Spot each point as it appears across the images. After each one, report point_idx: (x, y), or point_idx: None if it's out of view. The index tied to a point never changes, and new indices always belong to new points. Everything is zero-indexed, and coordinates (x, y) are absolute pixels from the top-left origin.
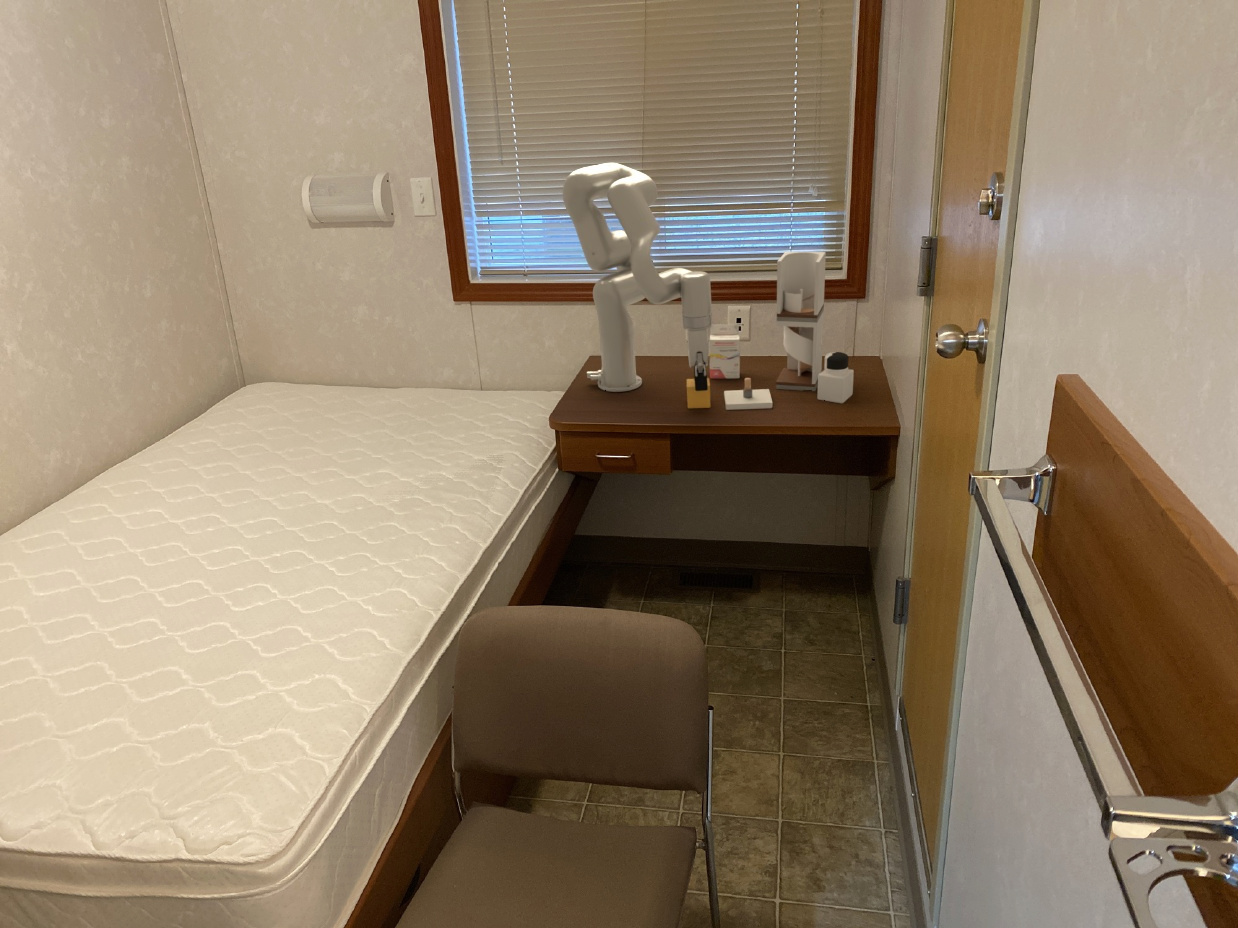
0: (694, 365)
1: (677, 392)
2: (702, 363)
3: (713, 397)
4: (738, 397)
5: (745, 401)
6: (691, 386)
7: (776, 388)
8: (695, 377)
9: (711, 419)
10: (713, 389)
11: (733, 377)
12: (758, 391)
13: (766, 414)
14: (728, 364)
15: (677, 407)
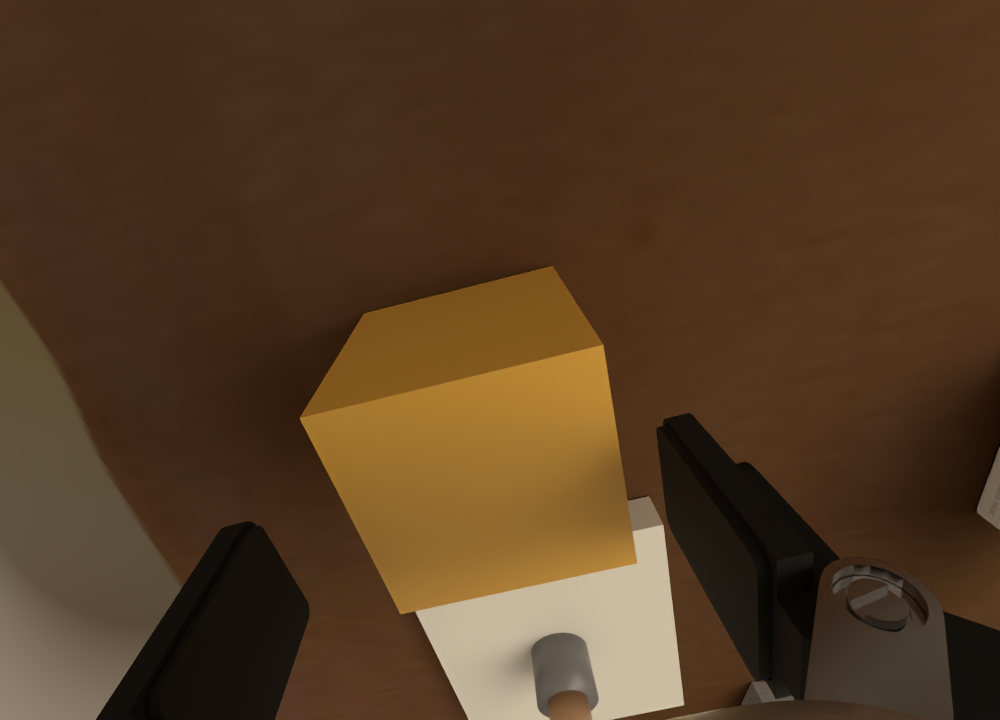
0: (770, 557)
1: (754, 117)
2: (783, 680)
3: (623, 440)
4: (538, 616)
5: (475, 656)
6: (335, 463)
7: (751, 685)
8: (122, 707)
9: (216, 509)
10: (788, 407)
11: (992, 486)
12: (647, 676)
13: (392, 705)
14: None
15: (364, 218)
